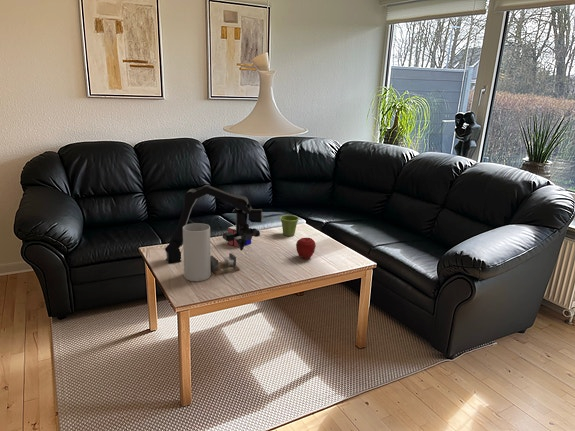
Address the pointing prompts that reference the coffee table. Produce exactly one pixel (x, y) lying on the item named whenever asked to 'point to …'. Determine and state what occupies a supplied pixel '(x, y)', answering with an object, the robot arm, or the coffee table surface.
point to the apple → (305, 247)
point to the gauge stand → (221, 267)
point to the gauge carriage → (230, 260)
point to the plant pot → (289, 224)
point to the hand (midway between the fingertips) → (241, 250)
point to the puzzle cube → (234, 242)
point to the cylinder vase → (196, 251)
